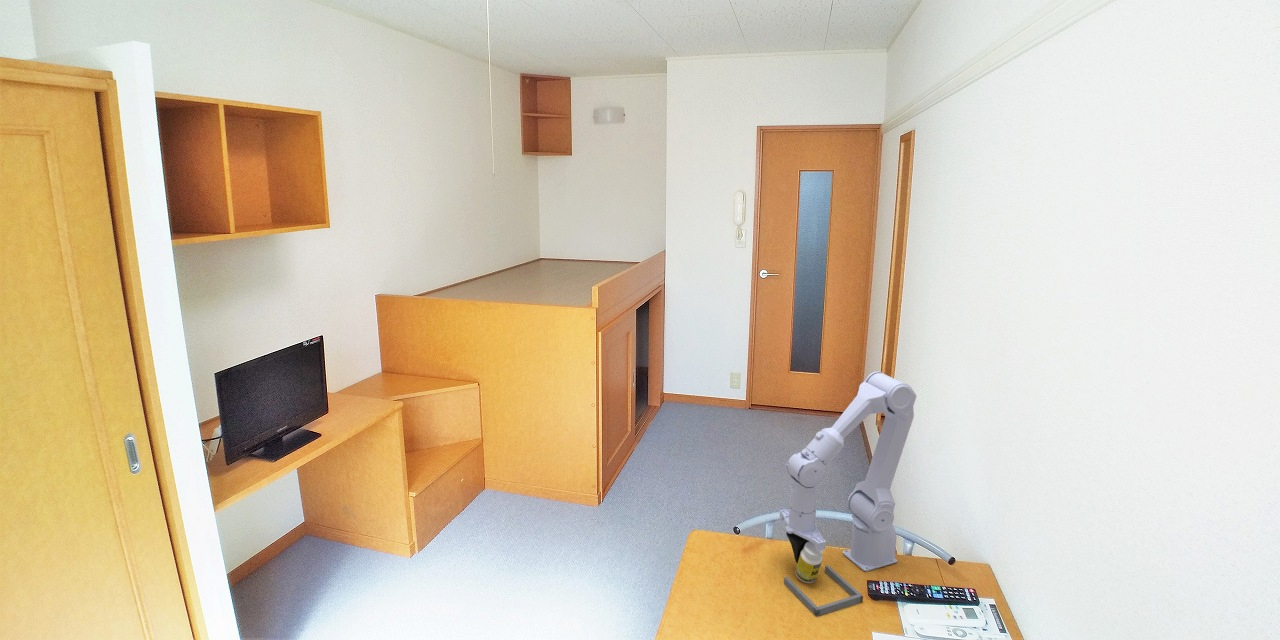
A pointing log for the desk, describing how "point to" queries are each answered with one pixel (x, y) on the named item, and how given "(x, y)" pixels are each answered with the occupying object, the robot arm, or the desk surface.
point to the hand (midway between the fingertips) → (800, 562)
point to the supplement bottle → (809, 563)
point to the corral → (832, 606)
